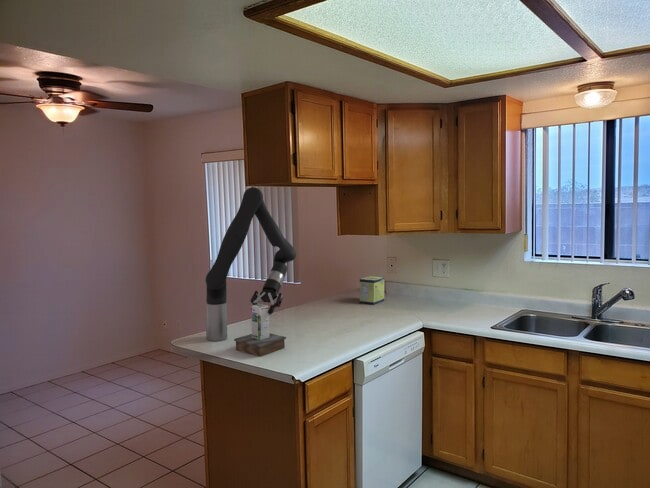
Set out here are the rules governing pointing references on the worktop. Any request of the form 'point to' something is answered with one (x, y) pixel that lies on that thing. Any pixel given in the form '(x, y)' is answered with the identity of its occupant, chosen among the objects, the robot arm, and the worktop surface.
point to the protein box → (371, 290)
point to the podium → (260, 344)
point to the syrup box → (260, 321)
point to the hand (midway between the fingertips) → (261, 312)
